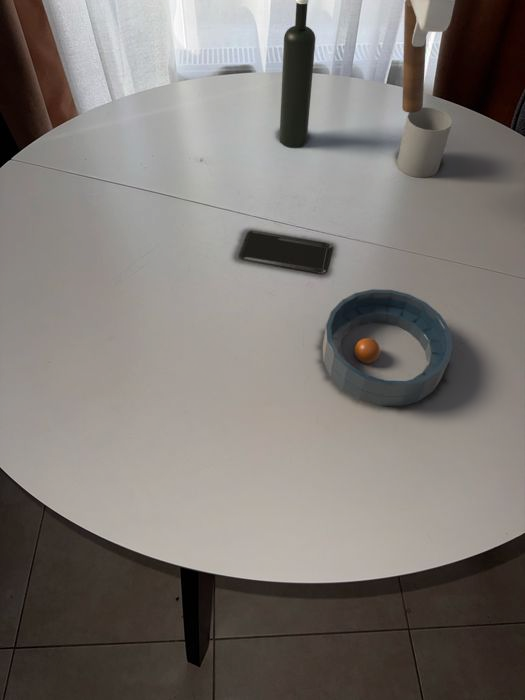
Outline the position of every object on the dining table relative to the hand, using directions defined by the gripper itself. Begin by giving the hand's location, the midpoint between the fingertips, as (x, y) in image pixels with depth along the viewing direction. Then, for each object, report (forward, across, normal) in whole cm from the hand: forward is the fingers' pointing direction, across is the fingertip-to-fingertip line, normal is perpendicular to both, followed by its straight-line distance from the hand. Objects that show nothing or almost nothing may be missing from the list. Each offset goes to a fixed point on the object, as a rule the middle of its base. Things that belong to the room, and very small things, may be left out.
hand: (414, 37), depth 86 cm
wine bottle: (+30, +21, +16) cm, 40 cm away
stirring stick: (+11, 0, -2) cm, 11 cm away
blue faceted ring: (+30, -37, +4) cm, 48 cm away
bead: (+27, -38, +6) cm, 47 cm away
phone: (+30, -15, +18) cm, 38 cm away
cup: (+30, +13, -9) cm, 34 cm away
